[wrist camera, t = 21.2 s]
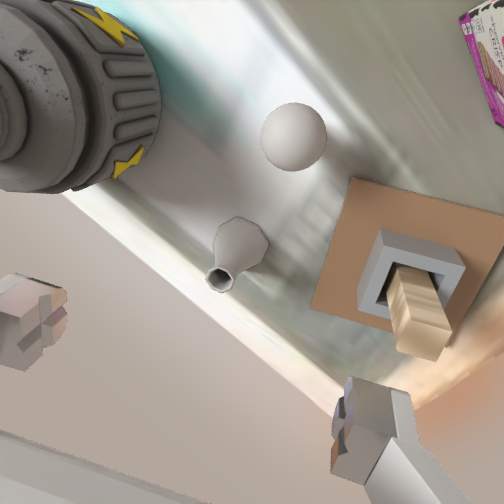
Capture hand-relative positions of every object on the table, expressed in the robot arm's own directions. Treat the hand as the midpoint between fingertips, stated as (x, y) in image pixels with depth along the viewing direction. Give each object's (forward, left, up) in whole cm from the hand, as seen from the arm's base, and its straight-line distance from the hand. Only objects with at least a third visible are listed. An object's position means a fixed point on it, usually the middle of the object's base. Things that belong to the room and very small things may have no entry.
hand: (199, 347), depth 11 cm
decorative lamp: (+1, -26, -37) cm, 46 cm away
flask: (+15, -5, -37) cm, 41 cm away
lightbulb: (-1, -1, -37) cm, 37 cm away
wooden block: (+12, +15, -36) cm, 41 cm away
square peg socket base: (+12, +15, -37) cm, 42 cm away
